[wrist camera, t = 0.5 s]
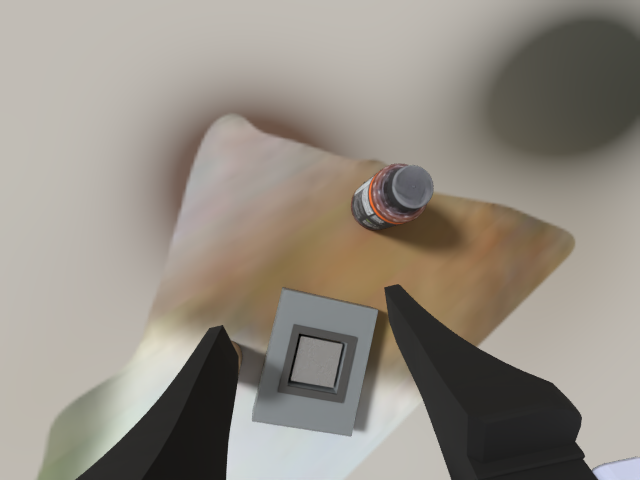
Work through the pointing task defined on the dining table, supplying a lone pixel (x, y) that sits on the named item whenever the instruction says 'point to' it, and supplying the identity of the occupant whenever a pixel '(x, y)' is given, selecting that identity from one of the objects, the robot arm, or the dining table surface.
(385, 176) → the supplement bottle
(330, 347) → the pad
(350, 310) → the board
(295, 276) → the dining table surface
